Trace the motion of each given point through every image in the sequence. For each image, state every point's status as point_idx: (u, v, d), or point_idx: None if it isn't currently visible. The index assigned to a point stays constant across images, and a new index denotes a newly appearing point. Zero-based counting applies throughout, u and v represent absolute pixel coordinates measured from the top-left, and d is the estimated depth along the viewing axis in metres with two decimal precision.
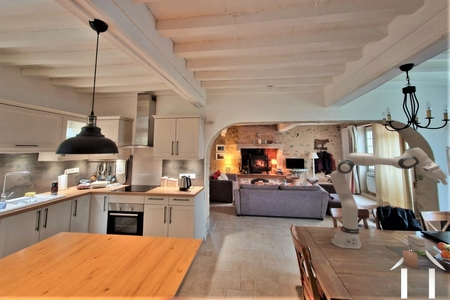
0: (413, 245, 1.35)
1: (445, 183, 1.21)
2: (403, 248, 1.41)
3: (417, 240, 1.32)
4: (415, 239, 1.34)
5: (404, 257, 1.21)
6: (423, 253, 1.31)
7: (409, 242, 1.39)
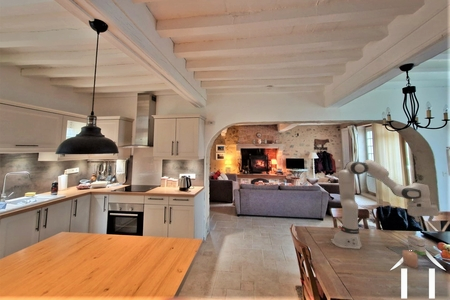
0: (413, 245, 1.35)
1: (416, 220, 1.36)
2: (403, 248, 1.41)
3: (417, 240, 1.32)
4: (415, 239, 1.34)
5: (404, 257, 1.21)
6: (423, 253, 1.31)
7: (409, 242, 1.39)
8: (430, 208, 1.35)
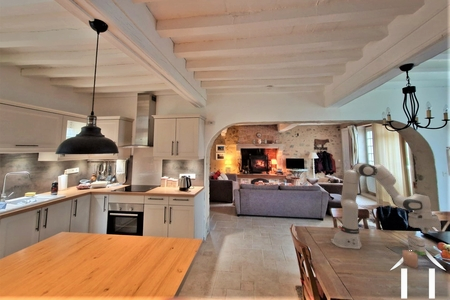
0: (413, 245, 1.35)
1: (423, 231, 1.36)
2: (403, 248, 1.41)
3: (417, 240, 1.32)
4: (415, 239, 1.34)
5: (404, 257, 1.21)
6: (423, 253, 1.31)
7: (409, 242, 1.39)
8: (431, 219, 1.34)
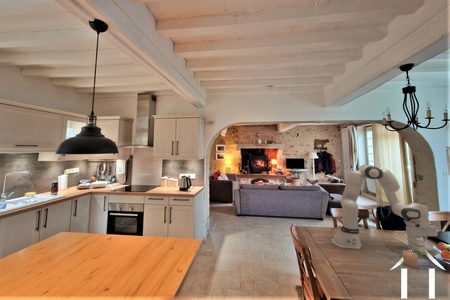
0: (413, 245, 1.35)
1: None
2: (403, 248, 1.41)
3: (417, 240, 1.32)
4: (415, 239, 1.34)
5: (404, 257, 1.21)
6: (423, 253, 1.31)
7: (409, 242, 1.39)
8: (429, 228, 1.34)
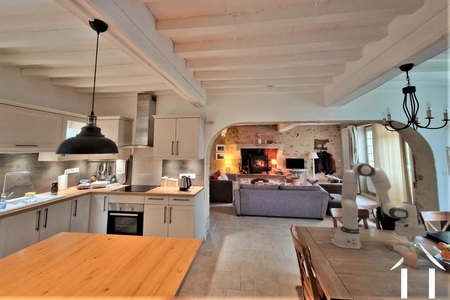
0: None
1: (409, 240, 1.36)
2: None
3: None
4: None
5: (404, 257, 1.21)
6: (417, 250, 1.32)
7: None
8: (417, 228, 1.35)
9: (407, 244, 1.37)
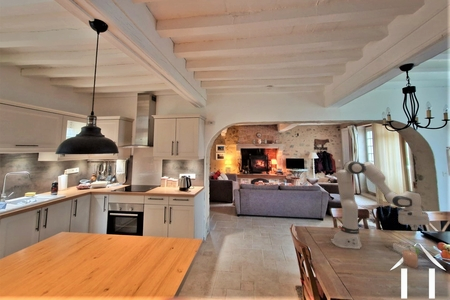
0: None
1: (412, 228, 1.37)
2: None
3: None
4: None
5: (404, 257, 1.21)
6: (417, 250, 1.32)
7: None
8: (421, 217, 1.35)
9: (407, 244, 1.37)
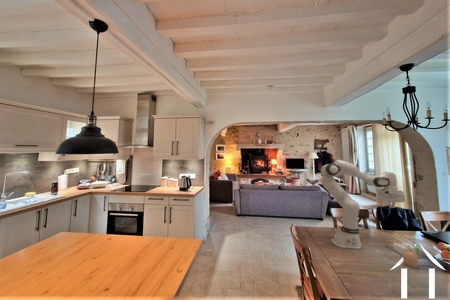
0: None
1: (390, 206, 1.49)
2: None
3: None
4: None
5: (404, 257, 1.21)
6: (417, 250, 1.32)
7: None
8: (397, 195, 1.48)
9: (407, 244, 1.37)
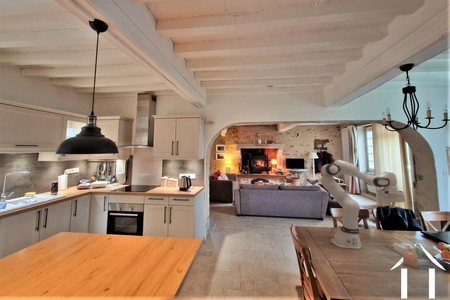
0: None
1: (390, 206, 1.49)
2: None
3: None
4: None
5: (404, 257, 1.21)
6: (417, 250, 1.32)
7: None
8: (397, 195, 1.48)
9: (407, 244, 1.37)
